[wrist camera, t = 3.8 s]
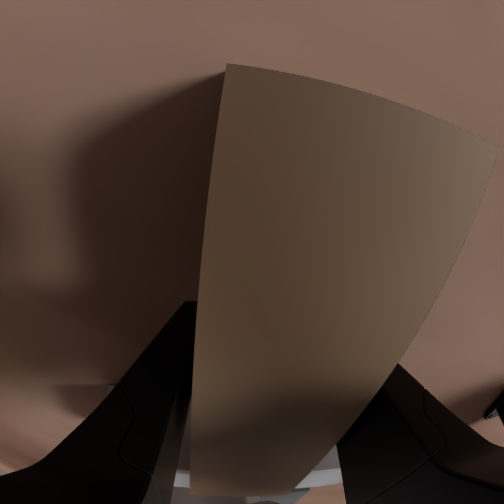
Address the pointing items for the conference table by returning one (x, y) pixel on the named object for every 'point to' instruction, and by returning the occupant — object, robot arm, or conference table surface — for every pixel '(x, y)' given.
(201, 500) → the mug
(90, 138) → the conference table surface
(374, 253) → the panel
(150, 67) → the conference table surface
